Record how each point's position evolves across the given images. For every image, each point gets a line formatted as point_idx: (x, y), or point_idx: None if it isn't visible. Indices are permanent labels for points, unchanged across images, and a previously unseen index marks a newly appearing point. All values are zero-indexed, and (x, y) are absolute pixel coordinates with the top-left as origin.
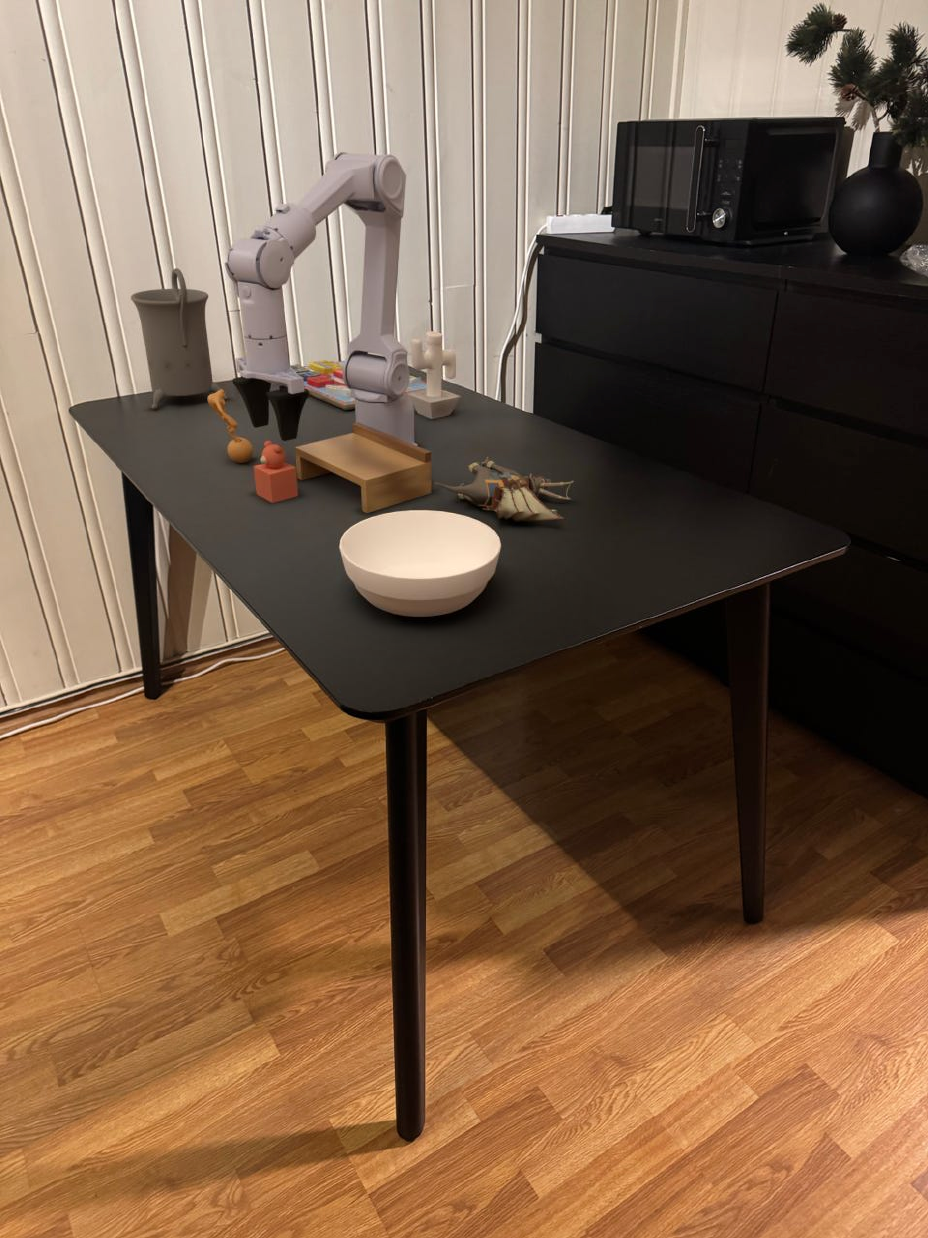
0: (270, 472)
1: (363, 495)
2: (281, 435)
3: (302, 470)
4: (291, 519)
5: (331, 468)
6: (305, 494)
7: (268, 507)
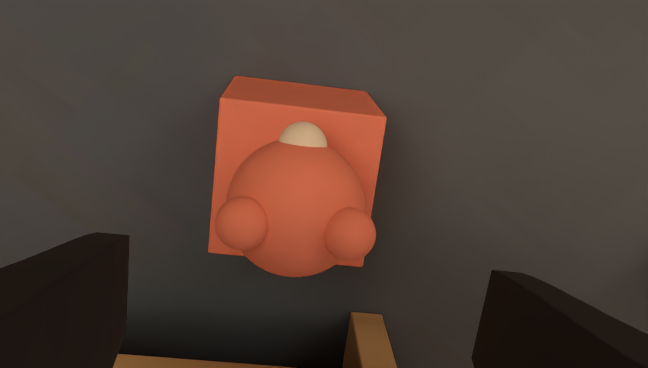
0: (240, 119)
1: None
2: (90, 237)
3: (354, 339)
4: (25, 17)
5: None
6: None
7: (209, 34)
